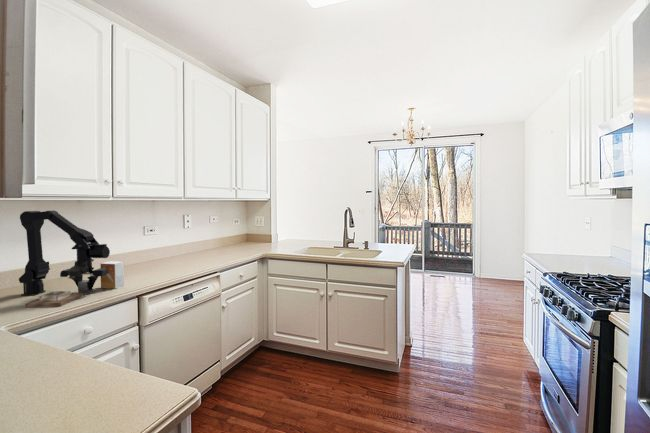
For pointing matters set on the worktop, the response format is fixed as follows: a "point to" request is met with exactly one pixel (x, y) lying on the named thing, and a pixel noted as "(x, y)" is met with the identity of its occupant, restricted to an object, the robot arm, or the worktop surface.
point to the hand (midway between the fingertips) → (85, 290)
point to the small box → (113, 275)
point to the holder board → (54, 299)
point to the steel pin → (84, 287)
